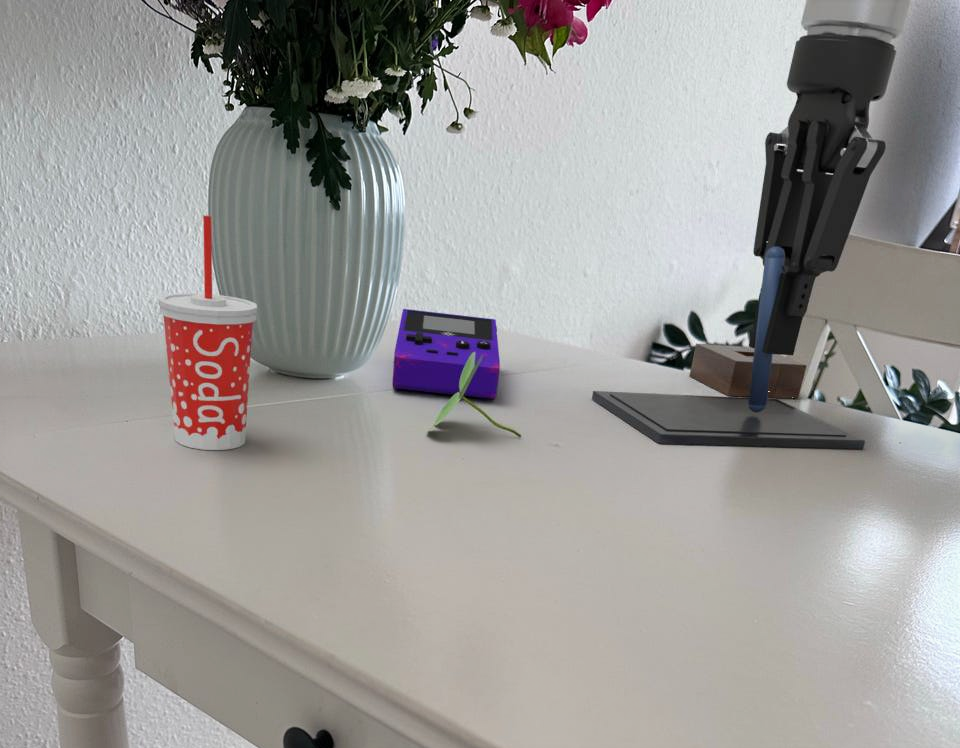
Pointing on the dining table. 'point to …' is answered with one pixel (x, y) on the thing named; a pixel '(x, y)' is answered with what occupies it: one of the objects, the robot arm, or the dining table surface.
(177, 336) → the beverage cup
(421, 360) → the handheld gaming console
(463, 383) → the seedling
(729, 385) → the pen stand
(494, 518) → the dining table surface
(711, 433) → the tablet
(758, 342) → the stylus
